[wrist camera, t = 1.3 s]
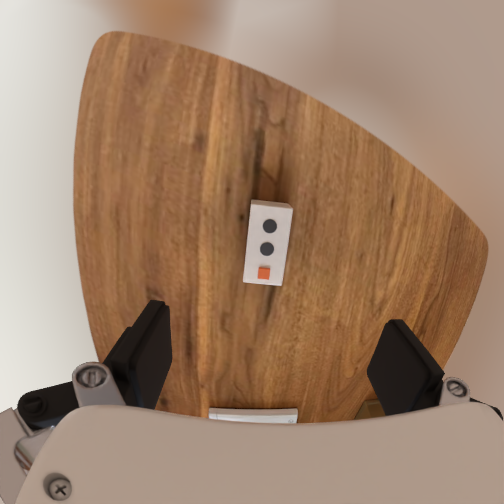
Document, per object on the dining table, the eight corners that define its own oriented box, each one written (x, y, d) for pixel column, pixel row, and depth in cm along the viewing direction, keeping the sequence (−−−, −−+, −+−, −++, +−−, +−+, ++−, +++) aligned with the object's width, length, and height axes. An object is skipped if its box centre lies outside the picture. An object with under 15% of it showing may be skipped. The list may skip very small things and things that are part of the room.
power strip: (288, 203, 25) (293, 209, 22) (278, 272, 27) (281, 287, 24) (251, 199, 25) (251, 204, 22) (244, 269, 27) (242, 283, 24)
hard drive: (298, 415, 32) (208, 414, 32) (292, 443, 35) (213, 443, 35) (297, 406, 34) (209, 406, 34) (291, 435, 36) (214, 435, 36)
